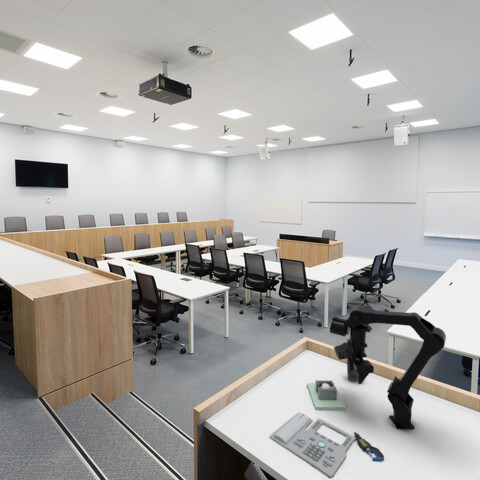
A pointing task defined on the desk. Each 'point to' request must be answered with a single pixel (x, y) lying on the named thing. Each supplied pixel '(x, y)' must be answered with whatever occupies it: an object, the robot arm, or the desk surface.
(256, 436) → the desk surface
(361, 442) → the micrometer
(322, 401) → the keyed post stand
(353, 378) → the beverage cup
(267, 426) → the desk surface
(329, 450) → the office telephone
